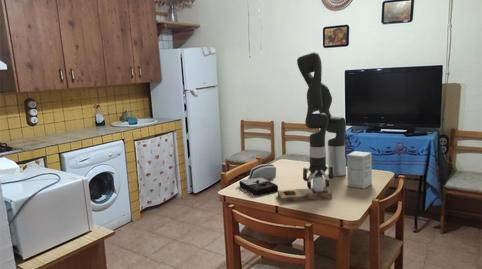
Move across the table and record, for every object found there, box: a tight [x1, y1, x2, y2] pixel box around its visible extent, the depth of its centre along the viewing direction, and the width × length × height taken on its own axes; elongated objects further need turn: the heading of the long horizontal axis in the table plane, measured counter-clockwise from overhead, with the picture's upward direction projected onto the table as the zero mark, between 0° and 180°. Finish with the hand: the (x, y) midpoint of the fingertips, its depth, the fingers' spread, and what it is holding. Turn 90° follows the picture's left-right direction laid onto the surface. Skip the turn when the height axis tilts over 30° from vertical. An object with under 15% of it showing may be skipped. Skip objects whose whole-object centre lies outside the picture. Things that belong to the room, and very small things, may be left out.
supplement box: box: [346, 150, 373, 189], centre depth 188 cm, size 10×9×17 cm
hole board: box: [277, 186, 333, 204], centre depth 176 cm, size 24×10×3 cm, turn 95°
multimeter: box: [239, 177, 279, 197], centre depth 192 cm, size 13×19×5 cm
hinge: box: [247, 163, 277, 180], centre depth 208 cm, size 17×5×10 cm, turn 119°
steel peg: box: [312, 175, 325, 194], centre depth 176 cm, size 4×4×10 cm
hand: (318, 188), depth 176 cm, fingers open, 8 cm apart
